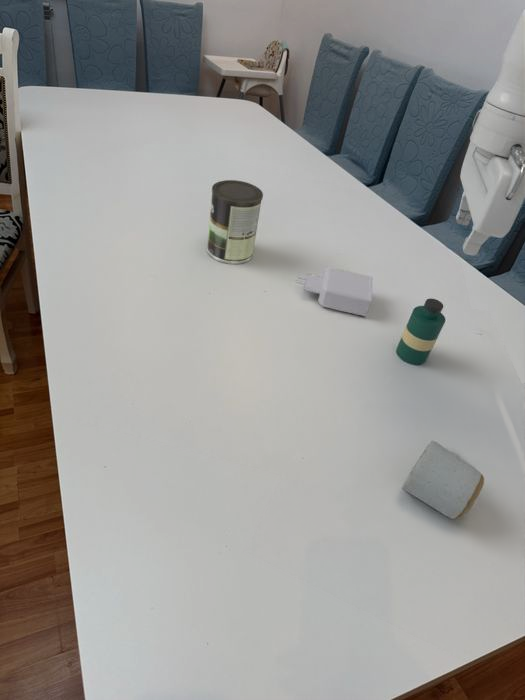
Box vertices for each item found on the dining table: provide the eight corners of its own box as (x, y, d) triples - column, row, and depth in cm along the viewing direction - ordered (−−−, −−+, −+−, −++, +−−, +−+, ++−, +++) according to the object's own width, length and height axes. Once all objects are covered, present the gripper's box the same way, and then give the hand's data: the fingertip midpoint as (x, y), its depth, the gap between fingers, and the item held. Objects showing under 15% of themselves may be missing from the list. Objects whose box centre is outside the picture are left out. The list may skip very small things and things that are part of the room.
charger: (296, 277, 105) (366, 293, 104) (290, 301, 98) (365, 318, 97) (300, 258, 102) (372, 274, 101) (295, 281, 95) (372, 299, 94)
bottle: (423, 347, 93) (447, 297, 85) (429, 367, 88) (454, 316, 81) (394, 342, 93) (415, 291, 85) (397, 362, 88) (420, 310, 81)
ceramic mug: (453, 534, 63) (480, 500, 58) (395, 498, 66) (415, 462, 61) (475, 481, 71) (500, 446, 66) (421, 450, 73) (441, 415, 69)
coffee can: (200, 257, 105) (205, 194, 96) (214, 236, 113) (220, 175, 104) (247, 269, 104) (257, 206, 95) (257, 246, 112) (267, 186, 103)
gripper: (559, 168, 52) (499, 279, 61) (521, 118, 68) (478, 213, 77) (499, 155, 52) (448, 267, 61) (475, 108, 68) (437, 203, 77)
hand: (464, 236), depth 69 cm, fingers open, 8 cm apart
